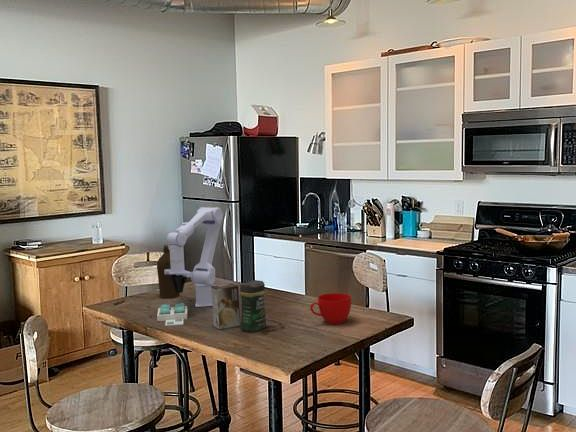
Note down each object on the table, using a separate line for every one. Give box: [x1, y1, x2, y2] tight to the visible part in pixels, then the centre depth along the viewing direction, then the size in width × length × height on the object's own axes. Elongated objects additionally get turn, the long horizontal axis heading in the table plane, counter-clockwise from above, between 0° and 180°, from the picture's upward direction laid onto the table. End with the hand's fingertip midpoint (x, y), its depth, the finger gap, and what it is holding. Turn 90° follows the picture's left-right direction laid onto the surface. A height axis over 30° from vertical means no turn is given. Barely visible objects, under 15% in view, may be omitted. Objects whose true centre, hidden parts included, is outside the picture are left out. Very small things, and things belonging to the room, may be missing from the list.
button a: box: [174, 302, 185, 307], centre depth 251 cm, size 4×4×2 cm
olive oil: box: [156, 243, 181, 300], centre depth 283 cm, size 11×11×25 cm
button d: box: [160, 307, 170, 315], centre depth 245 cm, size 4×4×2 cm
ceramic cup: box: [309, 292, 352, 325], centre depth 231 cm, size 13×17×10 cm
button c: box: [160, 303, 171, 310], centre depth 250 cm, size 4×4×2 cm
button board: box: [156, 305, 188, 322], centre depth 248 cm, size 12×12×2 cm
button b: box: [174, 306, 184, 314], centre depth 245 cm, size 4×4×2 cm
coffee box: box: [211, 282, 241, 330], centre depth 231 cm, size 9×6×16 cm
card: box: [164, 319, 184, 327], centre depth 239 cm, size 7×7×1 cm
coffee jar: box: [239, 279, 267, 333], centre depth 226 cm, size 10×8×19 cm
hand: (179, 292), depth 251 cm, fingers closed
